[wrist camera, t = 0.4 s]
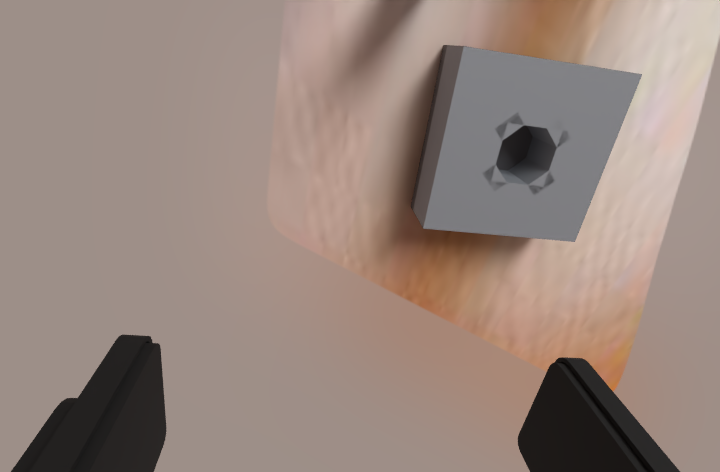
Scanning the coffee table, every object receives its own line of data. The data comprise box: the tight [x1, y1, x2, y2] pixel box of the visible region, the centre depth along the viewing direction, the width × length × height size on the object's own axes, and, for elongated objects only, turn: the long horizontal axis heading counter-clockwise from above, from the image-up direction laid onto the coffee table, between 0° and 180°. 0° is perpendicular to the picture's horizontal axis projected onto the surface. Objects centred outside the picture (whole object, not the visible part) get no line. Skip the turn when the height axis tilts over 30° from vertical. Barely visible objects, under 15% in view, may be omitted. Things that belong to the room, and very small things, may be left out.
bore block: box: [411, 45, 642, 242], centre depth 35 cm, size 14×14×5 cm
